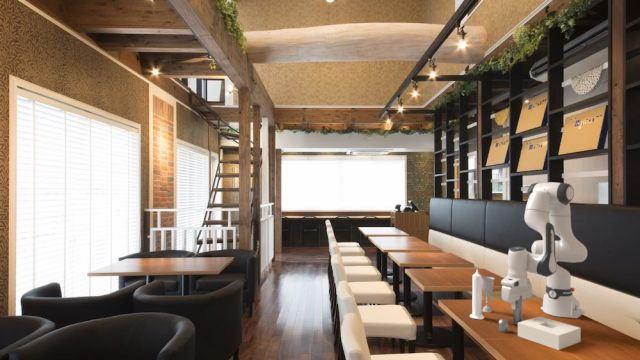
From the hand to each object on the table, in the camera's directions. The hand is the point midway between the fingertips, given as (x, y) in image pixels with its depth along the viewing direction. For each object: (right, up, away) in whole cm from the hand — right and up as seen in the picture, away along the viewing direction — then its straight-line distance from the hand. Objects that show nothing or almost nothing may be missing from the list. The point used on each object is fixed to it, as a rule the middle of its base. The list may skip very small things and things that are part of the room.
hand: (517, 308), depth 196 cm
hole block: (+5, -8, -18) cm, 20 cm away
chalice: (-6, -8, +21) cm, 23 cm away
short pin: (-11, -8, -9) cm, 16 cm away
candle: (-16, -8, +10) cm, 21 cm away
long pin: (0, -8, 0) cm, 8 cm away
